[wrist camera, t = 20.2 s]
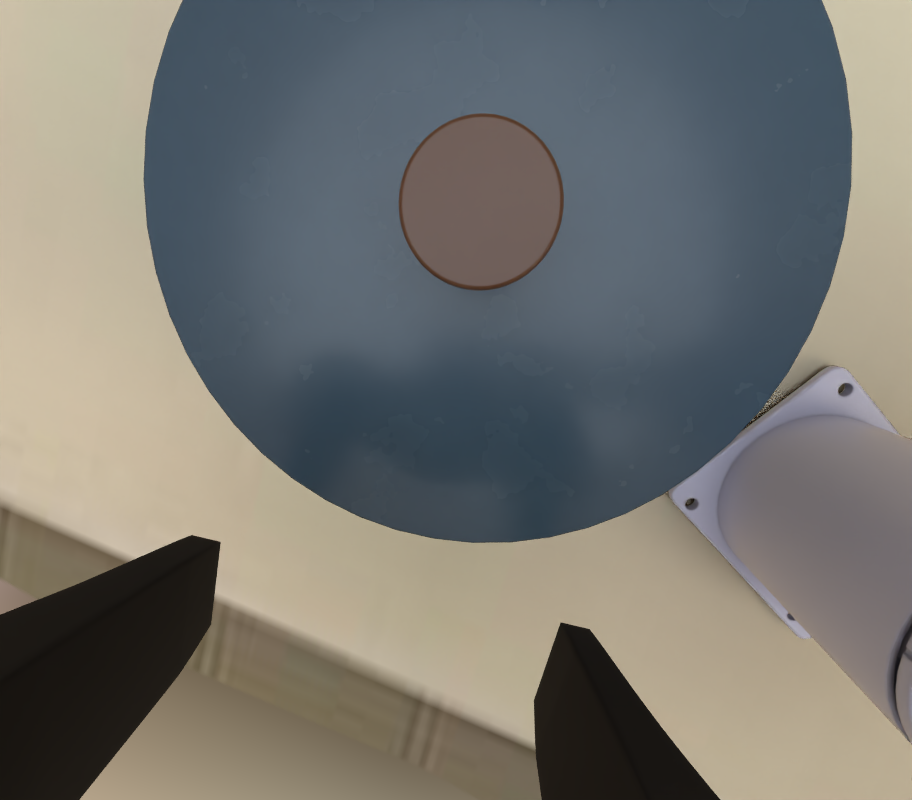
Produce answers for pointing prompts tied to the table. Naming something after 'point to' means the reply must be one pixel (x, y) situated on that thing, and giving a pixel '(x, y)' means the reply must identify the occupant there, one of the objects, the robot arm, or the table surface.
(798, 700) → the table surface
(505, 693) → the table surface
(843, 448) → the robot arm
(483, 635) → the table surface
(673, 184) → the lid
